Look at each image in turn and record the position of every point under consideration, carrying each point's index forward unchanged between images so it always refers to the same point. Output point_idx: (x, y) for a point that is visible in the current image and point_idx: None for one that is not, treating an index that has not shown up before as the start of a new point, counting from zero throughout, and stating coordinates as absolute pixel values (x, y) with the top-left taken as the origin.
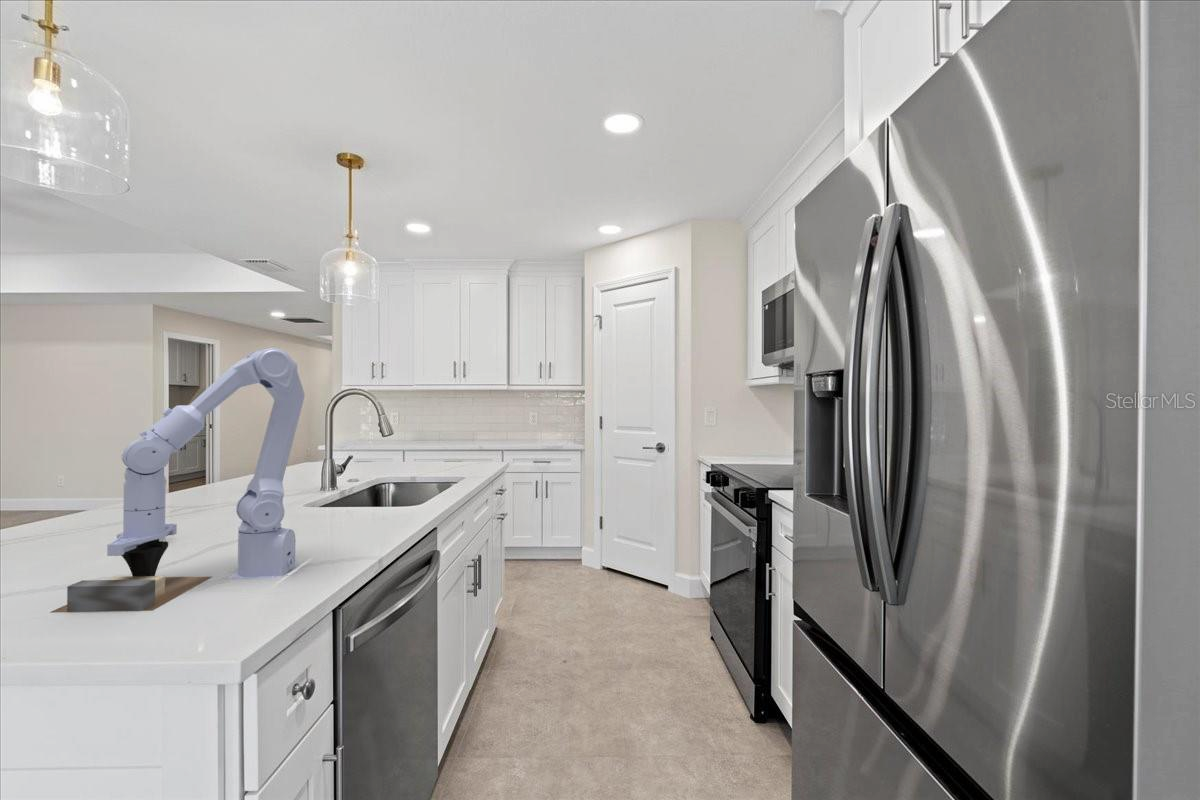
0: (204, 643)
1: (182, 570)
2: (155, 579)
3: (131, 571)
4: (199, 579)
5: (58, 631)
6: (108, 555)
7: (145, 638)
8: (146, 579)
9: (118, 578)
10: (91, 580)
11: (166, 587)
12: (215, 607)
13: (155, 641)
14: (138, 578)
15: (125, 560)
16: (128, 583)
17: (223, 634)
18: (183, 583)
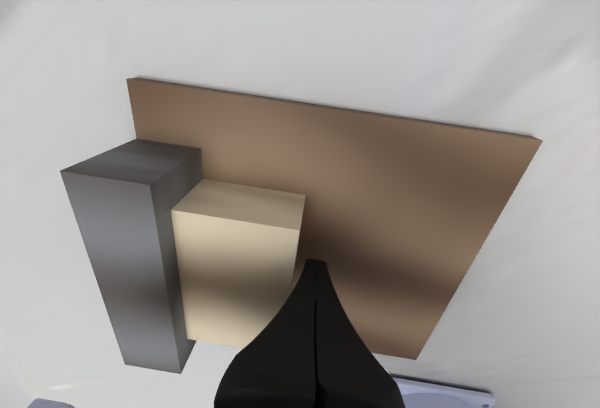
0: (72, 388)
1: (585, 269)
2: (247, 343)
3: (290, 294)
4: (397, 343)
5: (45, 180)
6: (36, 403)
7: (65, 332)
8: (249, 325)
9: (270, 251)
10: (152, 221)
11: (340, 298)
12: (212, 379)
13: (60, 345)
14: (262, 305)
15: (261, 331)
16: (137, 333)
17: (104, 398)
18: (370, 321)
